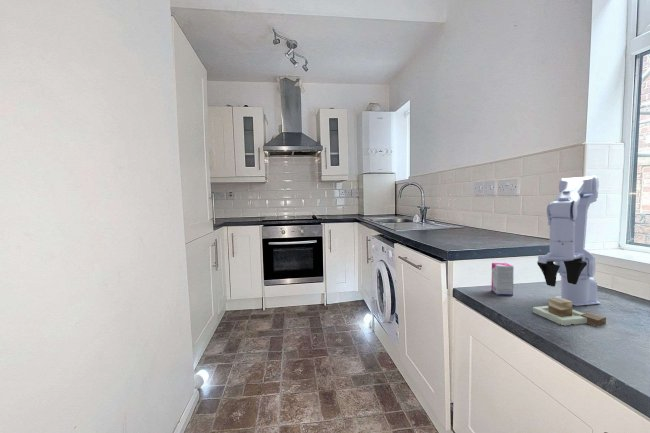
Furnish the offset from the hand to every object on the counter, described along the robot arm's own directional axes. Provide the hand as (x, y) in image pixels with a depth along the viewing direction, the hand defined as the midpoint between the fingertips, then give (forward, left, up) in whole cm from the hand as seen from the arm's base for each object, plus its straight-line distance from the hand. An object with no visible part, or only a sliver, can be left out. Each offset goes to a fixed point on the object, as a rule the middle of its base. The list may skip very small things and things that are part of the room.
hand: (561, 284), depth 84 cm
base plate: (0, 0, -10) cm, 10 cm away
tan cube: (0, 0, -9) cm, 9 cm away
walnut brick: (-5, +5, -10) cm, 13 cm away
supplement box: (+1, -23, -10) cm, 25 cm away
